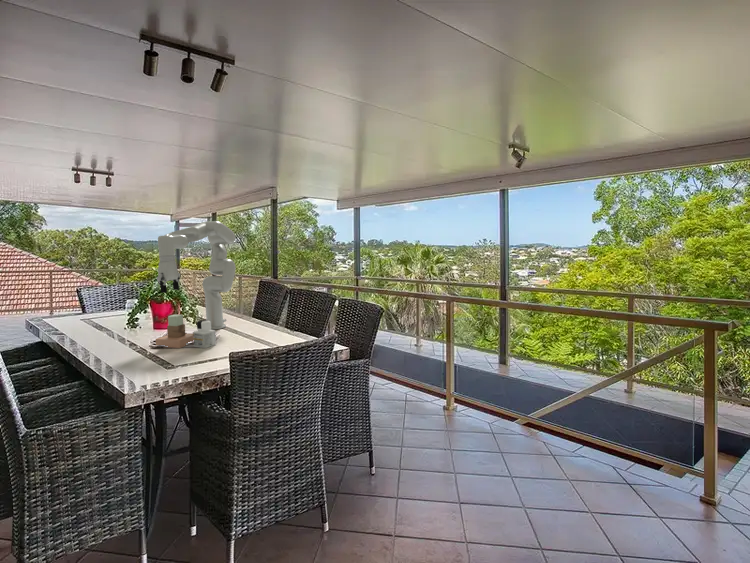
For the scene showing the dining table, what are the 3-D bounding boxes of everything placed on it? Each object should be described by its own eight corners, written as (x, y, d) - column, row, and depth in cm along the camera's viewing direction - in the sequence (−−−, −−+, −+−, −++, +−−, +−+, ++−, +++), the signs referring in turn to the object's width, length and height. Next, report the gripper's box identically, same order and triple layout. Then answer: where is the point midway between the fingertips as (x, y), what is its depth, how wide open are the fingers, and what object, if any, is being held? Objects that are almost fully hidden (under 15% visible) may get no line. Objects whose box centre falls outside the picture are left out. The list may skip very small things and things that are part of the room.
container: (193, 346, 222) (192, 321, 221) (205, 343, 229) (204, 318, 228) (204, 348, 219) (202, 322, 217) (216, 344, 226) (215, 320, 224)
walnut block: (175, 334, 232) (174, 323, 231) (185, 335, 231) (184, 324, 230) (167, 337, 226) (167, 326, 225) (177, 337, 225) (177, 326, 224)
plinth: (174, 340, 237) (174, 332, 237) (197, 341, 234) (196, 333, 233) (156, 346, 223) (155, 338, 223) (179, 347, 220) (179, 340, 220)
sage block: (175, 323, 231) (174, 314, 230) (183, 324, 229) (182, 314, 229) (168, 325, 226) (167, 316, 225) (176, 326, 225) (176, 316, 224)
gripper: (172, 257, 239) (174, 288, 242) (149, 260, 223) (152, 293, 225) (184, 257, 238) (186, 288, 240) (162, 260, 221) (165, 294, 223)
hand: (170, 291), depth 232 cm, fingers open, 9 cm apart
